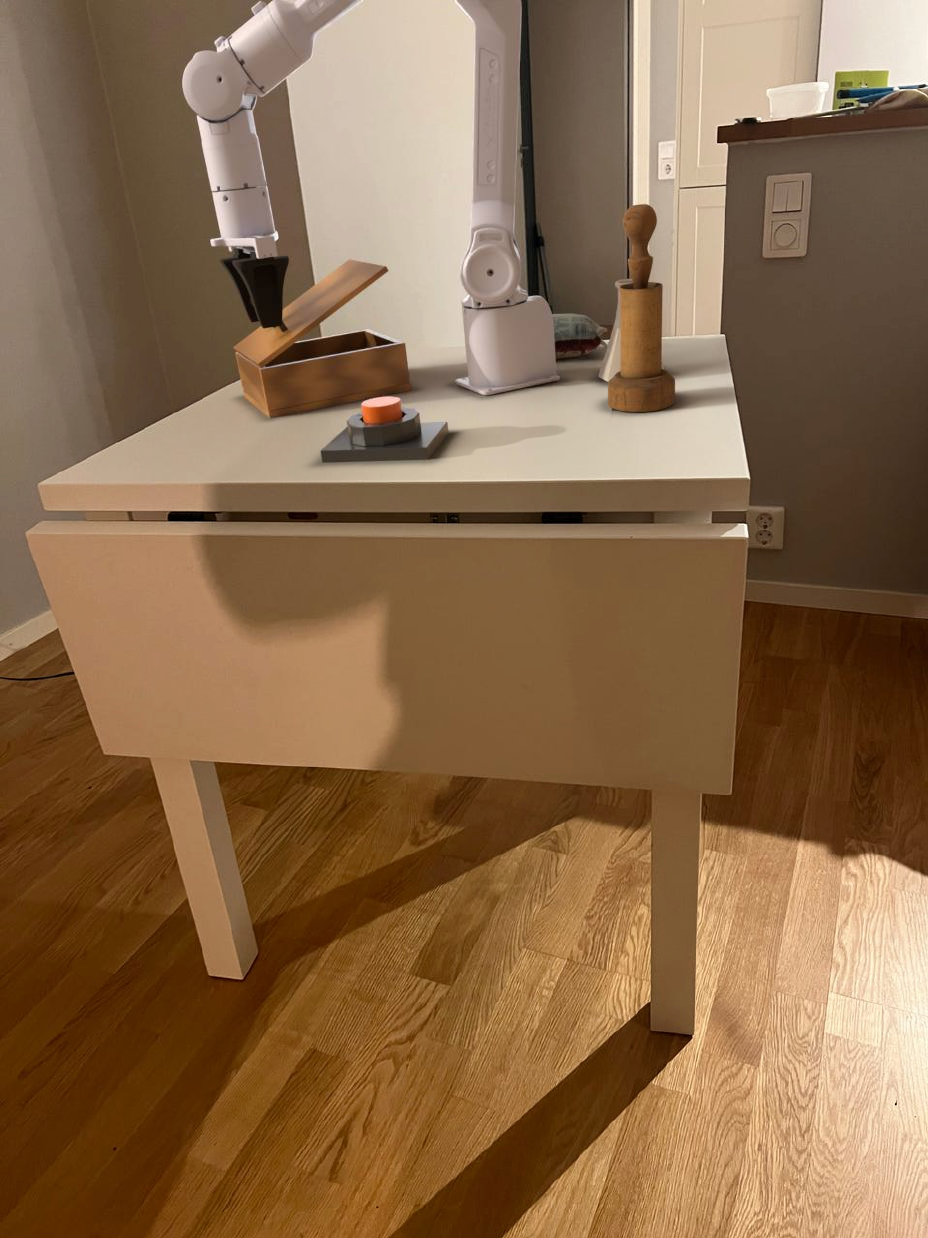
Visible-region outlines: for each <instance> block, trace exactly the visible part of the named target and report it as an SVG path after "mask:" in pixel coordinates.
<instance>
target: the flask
mask: <svg viewBox="0 0 928 1238" xmlns="http://www.w3.org/2000/svg"><path fill="white" fill-rule="evenodd" d="M630 283H633V281H632V278H623V279H618V280H617V281H615V282H614V287H615V289H617V307H616V312H615V318H614V319H615V320H614V323H613V326H612V330H611V334H610V338H609V341H608V345H607V346H606V351H605V354H604V356H603V360H602V362H601V366H600V369H599V372H598V376H597V377H598V378H600V379H602V380H604V381H605V382H607V383H608V382H609V380H610V379H612V378H613V377H614V375H615V374H616V373H617V372H619V371H620V368H621V339H620V286H621V285H624V284H630ZM662 369H664V370H666V369H665V367H664V364H663V362H662Z"/></svg>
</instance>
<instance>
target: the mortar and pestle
mask: <svg viewBox="0 0 928 1238" xmlns="http://www.w3.org/2000/svg"><path fill="white" fill-rule="evenodd" d="M657 223H658V217H657V213H656V211H655V209H654V208H653V207H652V206H651V205H650V204H647V203H641V204H634V205H631V206H630V207H628V209H627V210H626V211H625V213H624V215H623V218H622V229H623V230H624V233H625V234H626V237H627V238H628V240H629V242H630V244H631V249H632V250H631V254H630V257H629V258H628V259H627V264H628V270H629V274H630V277H631V279H632V281H633V283H630V284H624V285H621V286H620V339H621V368H620V371H619V372H617V373H616V374H615V375H614V377H613V378H612V379H610V380H609V382H607V404H608V407H609V408H611V409H614V410H615V411H620V412H627V413H628V412H629V413H630V412H631V413H645V412H647V413H649V412H655V411H661V410H663V409H667V408H669V407H672V406H673V405H674V404H675V402H676V378H675V377H674V376H672V375H671V374H670V373H669V372H668V371H667V370H666V369H665V368H664V369H665V370H664V369H662V363H663V361H662V356H663V355H662V354H663V351H662V349H663V348H662V347H663V286H664V285H663V283H661V282H655V281H650V277H651V272H652V269H653V264H654V256H652V255H651V254H650V253H649V244H650V240H651V238H652V237H653V234H654V232H655V231H656V228H657Z"/></svg>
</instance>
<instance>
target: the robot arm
mask: <svg viewBox="0 0 928 1238" xmlns="http://www.w3.org/2000/svg"><path fill="white" fill-rule="evenodd" d="M364 1H365V0H295V1H294V2H288V1H285V0H271V1H270V2H269V3H268V4H267V3H266V2H265V1H263V0H259V1H258V2H257V3H255V4H254V5H253V6H252V7H251V12H252V14H253V15H254V16H252V17H251V18H250V19H249V20H247V21H246V22H245V23H243V25H241V26H240V27H239V28H237V30H235V31H234V32H233V33H231V34H230V35H229V36H228V37H227V38H226V37H225V36H222V35H221V36H219V37H218V38H217V39H215V40H214V45H215V48H216V51H214V50H201V51H197V52H196V53H194V55H193V57H192V59H191V60H190V61H189V62H188V63H187V64H186V66H185V69H184V71H183V73H182V80H181V84H182V85H181V86H182V91H183V95H184V98H185V101H186V102H187V105H189V107H190V108H191V110H192V111H194V113H195V114H197V115H196V120H197V125H198V129H199V134H200V139H201V147H202V148H201V149H202V152H203V157H204V161H205V166H206V173H207V177H208V180H209V181H208V182H209V186H210V191H211V194H212V200H213V204H214V209H215V215H216V219H217V223H218V229H219V233H220V237H218V238H217V237H216V238H210V245H211V247H213V248H217V247H223V248H228V251H229V252H231V253H233V252H234V253H233V254H232V256H228V257H223V258H220V259H219V262H220V264H221V265H222V267H223V268H224V269H225V271H226V272H227V274H228V276H229V277H230V278H231V280H232V282H233V284H234V286H235V289H236V290H237V293H238V295H239V299H240V300H241V302H242V305H243V309H244V311H245V312H246V315H247V317H248V319H249V321H250V323H252V324H253V323H258V322H259V324H260V326H262V328H264V329H265V328H270V327H276V326H281V325H282V315H283V309H284V307H283V305H284V303H283V301H284V293H283V292H284V284H285V278H286V273H287V270H288V267H289V264H290V258H289V256H288V255H279V256H278V250H277V244H276V242H277V240H279V233H278V231H277V230H276V228H275V221H274V216H273V210H272V204H271V200H270V199H271V198H270V194H269V189H268V182H267V178H266V173H265V168H264V161H263V158H262V151H261V145H260V140H259V136H258V135H257V129H256V124H255V118H254V113H253V112H254V109H255V107H256V104H257V101H258V97H260V98H263V97H264V96H266V95H267V94H268V93H270V92H271V91H272V90H274V89H275V88H276V87H277V86H279V85H280V84H281V83H282V82H284V81H285V80H287V79H288V78H289V77H290V76H291V75H293V74H294V73H295V72H296V71H297V70H299V69H300V68H301V67H303V66H304V65H305V64H306V63H307V62H309V61H310V60H311V59H312V58H313V54H314V46H315V40H316V37H317V35H320V34H321V33H322V32H323V31H324V30H326V29H327V28H328V27H330V26H331V25H332V24H334V23H335V22H337V21H338V20H340V19H341V18H342V17H343V16H345V15H346V14H347V13H349V12H350V11H351V10H353V9H354V8H356V7H357V6H359V5H360V4H361V3H362V2H364ZM454 2H455V4H456V5H457V6H458V7H459V8H460V9H461V11H463V13H464V14H465V15H466V17H468V18H469V20H470V21H471V22H472V23H473V82H472V85H473V87H472V89H473V90H472V144H471V145H472V146H471V147H472V149H471V151H472V153H471V157H472V158H471V205H470V206H471V208H470V219H469V221H470V223H469V241H468V242H469V243H468V246H467V249H466V251H465V252H464V254H463V257H462V258H461V261H460V266H459V277H460V282H461V285H462V287H463V289H464V291H465V292H466V294H468V295H467V296H465V297H463V298H462V299H461V300H460V302H461V311H462V312H461V313H462V323H463V334H464V343H465V344H464V345H465V354H466V355H465V356H466V366H467V367H466V368H467V376H466V377H460V378H456V379H455V381H454V382H455V384H456V385H458V386H460V387H462V388H465V389H467V390H470V391H472V392H475V393H477V394H480V395H482V396H490V395H495V394H500V393H504V392H510V391H515V390H519V389H523V388H528V387H529V388H530V387H533V386H538V385H543V384H547V383H552V382H556V381H557V382H558V381H560V380H561V376H560V375H559V374H557V361H556V360H557V359H556V357H555V338H554V322H553V316H552V314H553V313H552V310H551V306H550V305H549V303H548V301H547V300H546V299H545V298H544V297H542V296H540V295H530V296H529V294H528V291H527V290H525V289H524V288H522V287H521V285H520V283H521V279H522V272H523V271H522V265H523V257H522V253H521V250H520V248H519V245H518V243H517V239H516V236H515V214H516V211H515V210H516V209H515V207H516V181H517V179H516V178H517V157H518V156H517V153H518V151H517V150H518V126H519V125H518V122H519V99H520V98H519V97H520V96H519V95H520V70H521V69H520V67H521V66H520V65H521V64H520V63H521V42H522V41H521V39H522V38H521V37H522V15H523V14H522V11H523V9H522V8H523V6H522V0H454ZM250 297H251V299H252V302H253V305H254V307H253V306H252V305H251V303H250Z"/></svg>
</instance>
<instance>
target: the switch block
mask: <svg viewBox="0 0 928 1238" xmlns="http://www.w3.org/2000/svg"><path fill="white" fill-rule="evenodd" d="M401 408H402V415H403V418H401V419H398V420H395V421H390V422H385V423H364V420H363V414H362V411H361V412H358V413H356V414H353V415H350V417H349V418H348V419H347V420H346V427H345V428H343V430H342V431H340V433H339V434H338V435H336V436H335V437H334V438H333V439H332V440H331V441H330V442H329V443H327V444H326V445H325V446H324V447H323V448H322V449H320V451H319V452H320V458H321V462H322V463H323V464H324V463H356V462H357V463H359V462H360V463H361V462H393V461H394V462H395V461H398V462H399V461H429V459H431V457H432V456H433V454H434V453H435V452H436V451H437V449H438V448H439V446H441V444H442V443H443V441H444V440H445V439H446V438H447V436H448V435H449V434H450V433H449V423H448V421H434V422H432V421H431V422H429V421H428V422H421V417H420V412H419V411H418V410H417V409H416V408H412V407H405V406H401Z"/></svg>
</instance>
